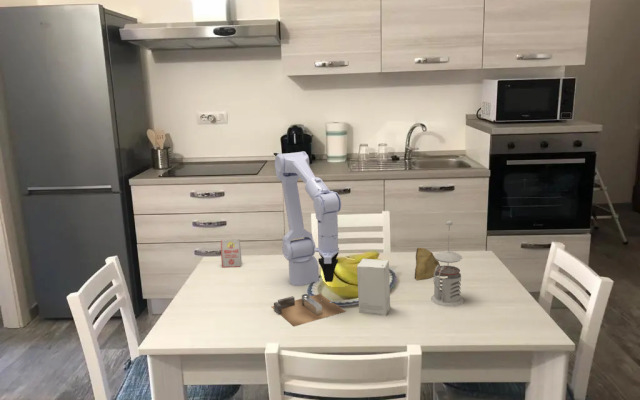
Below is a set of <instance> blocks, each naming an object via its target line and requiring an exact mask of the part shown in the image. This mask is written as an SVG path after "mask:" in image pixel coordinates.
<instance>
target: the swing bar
mask: <svg viewBox="0 0 640 400" xmlns="http://www.w3.org/2000/svg"><path fill="white" fill-rule="evenodd" d="M310 296H311V295H310V294H307V293H304V294H301V299H302V305H303V306H305V307H306V308H308V309H309V310H310V311H311V312H313V313H314V314H315V315H318V314H322V305H320V304H319V303H318V302H316V301H315V300H313V299H312V298H311V297H310Z"/></svg>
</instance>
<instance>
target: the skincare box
mask: <svg viewBox="0 0 640 400" xmlns="http://www.w3.org/2000/svg"><path fill="white" fill-rule="evenodd" d="M356 273H357V274H356V275H357V276H356V277H357V298H358V313H361V314H368V315H375V316H376V315H377V316H387V315H388V313H389V311H390V309H391V292H390V291H391V290H390V287H391V285H390V261H389V259H376V258H375V259H374V258H373V259H372V258H362V259H361V260H360V261H359V262H358V264H357V266H356Z"/></svg>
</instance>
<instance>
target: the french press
mask: <svg viewBox="0 0 640 400" xmlns="http://www.w3.org/2000/svg"><path fill="white" fill-rule="evenodd" d="M445 225H446V226H448V230H450V226H452V225H453V221H451V220H447V221H446V222H445ZM447 239H448V242H447V245H448V246H447V250H445V251H444V250H443V251H440V252H438V253H436V254H435V255H434V257H435V259H436V260H437V261H438V262H439V263H446V264H452V263H459V262H461V260H462V259H463V256H462V255H460V253H457V252H454V251H451V250H450V236H448V238H447ZM460 272H461V269H460V268H459V267H457V266H453V265H440V266H439V267H438V265H437V267H436V269H435V272H434V276H433V277H434V281H433V285H434V288H433V289H434V291H433V292H434V293H433V295H432V296H431V297H430V300H431V301H432V303H434V304H436V305H438V306H442V307H456V306H457V307H458V306H460V305H462V304H464V298H463V297H462V295H461V293H462V292H461V290H462V289H461V285H462V284H461V282H462V274H461V273H460ZM441 277H445V278H441Z"/></svg>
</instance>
